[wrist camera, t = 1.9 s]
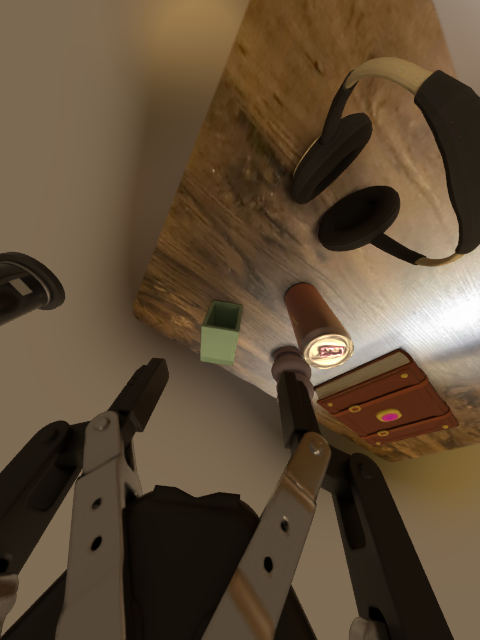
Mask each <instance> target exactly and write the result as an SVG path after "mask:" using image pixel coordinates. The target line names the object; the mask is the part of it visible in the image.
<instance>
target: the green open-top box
mask: <svg viewBox="0 0 480 640" xmlns="http://www.w3.org/2000/svg"><path fill="white" fill-rule="evenodd" d="M241 313H242V305H239V304H234V303H228V302H221V301H215V300H213V301H212V304H211V306H210V308H209V310H208V313H207V315H206V317H205V319H204V322H203V324H202V326H201V361H205V362H211V363H217V364H224V365H230V366H233V363H234V357H235V352H236V346H237V341H238V335H239V329H240V321H241Z"/></svg>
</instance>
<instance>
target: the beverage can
mask: <svg viewBox="0 0 480 640" xmlns="http://www.w3.org/2000/svg"><path fill="white" fill-rule="evenodd" d="M285 304H286V307H287V310H288V314H289V317H290V320H291V323H292V327H293V330H294V333H295V336H296V340H297V343H298V346H299V350H300V353H301V355H302V356H303V357H304V360H305V361H306V362H307V363H308V364H309V365H311V366H313V367H315V368H321V369H327V368H333V367H336V366H339V365H341V364H343V363H344V362H346V361H347V360H348V359H349V358H350V357H351V355H352V354H353V351H354V345H353V342H352V341H351V337H350V335H349V334H348V332H347V331H346V329H345V328H344V327H343V325H342V324H341V323H340V321H339V320H338V318H337V317H336V316H335V314H334V313H333V312H332V310H331V309H330V307H329V306H328V305H327V303H326V302H325V301H324V299H323V298H322V296H321V295H320V294H319V292H318V291H317V290H316V288H315V287H314V286H312V285H310V284H306V283H302V284H297V285H295V286H293V287H292V288H291V289H290V290H289V291H288V292H287V294H286V296H285Z"/></svg>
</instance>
